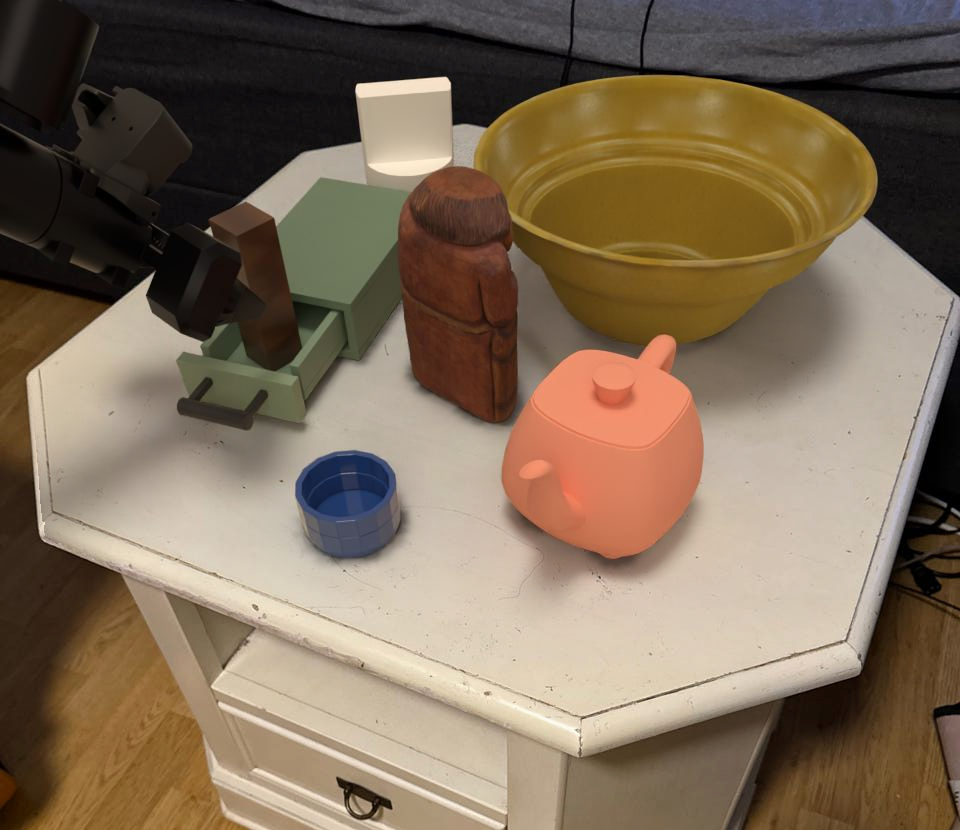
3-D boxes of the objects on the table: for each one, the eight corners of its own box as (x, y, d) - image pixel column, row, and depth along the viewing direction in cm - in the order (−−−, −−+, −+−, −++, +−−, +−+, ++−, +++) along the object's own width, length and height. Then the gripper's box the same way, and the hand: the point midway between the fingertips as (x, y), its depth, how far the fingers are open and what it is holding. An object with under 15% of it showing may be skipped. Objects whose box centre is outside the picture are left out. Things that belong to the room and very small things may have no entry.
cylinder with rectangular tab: (450, 187, 93) (445, 63, 84) (461, 231, 88) (456, 104, 78) (368, 195, 93) (352, 70, 83) (373, 239, 87) (358, 112, 78)
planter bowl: (523, 196, 92) (526, 54, 81) (832, 235, 87) (881, 88, 76) (433, 381, 74) (421, 231, 63) (816, 445, 69) (876, 292, 58)
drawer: (277, 457, 68) (266, 419, 65) (162, 430, 70) (147, 392, 67) (384, 304, 79) (379, 265, 76) (283, 284, 82) (275, 246, 78)
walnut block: (271, 373, 72) (236, 236, 62) (246, 356, 73) (207, 218, 64) (304, 354, 73) (274, 217, 64) (278, 338, 75) (245, 200, 65)
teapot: (443, 560, 62) (432, 429, 52) (581, 408, 72) (594, 273, 62) (604, 642, 58) (626, 516, 48) (729, 468, 67) (768, 333, 57)
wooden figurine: (543, 396, 73) (555, 181, 58) (494, 435, 70) (493, 219, 55) (441, 341, 77) (428, 129, 63) (392, 376, 75) (366, 162, 60)
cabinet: (359, 361, 76) (350, 304, 71) (243, 336, 78) (227, 280, 74) (434, 250, 86) (430, 195, 82) (329, 232, 88) (320, 176, 84)
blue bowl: (304, 563, 62) (293, 525, 59) (306, 493, 67) (296, 454, 63) (403, 555, 63) (398, 516, 59) (398, 485, 67) (393, 446, 64)
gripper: (170, 110, 46) (352, 228, 60) (2, 20, 54) (196, 143, 68) (97, 303, 50) (285, 375, 63) (-53, 192, 57) (144, 277, 71)
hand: (226, 286), depth 66 cm, fingers open, 9 cm apart
